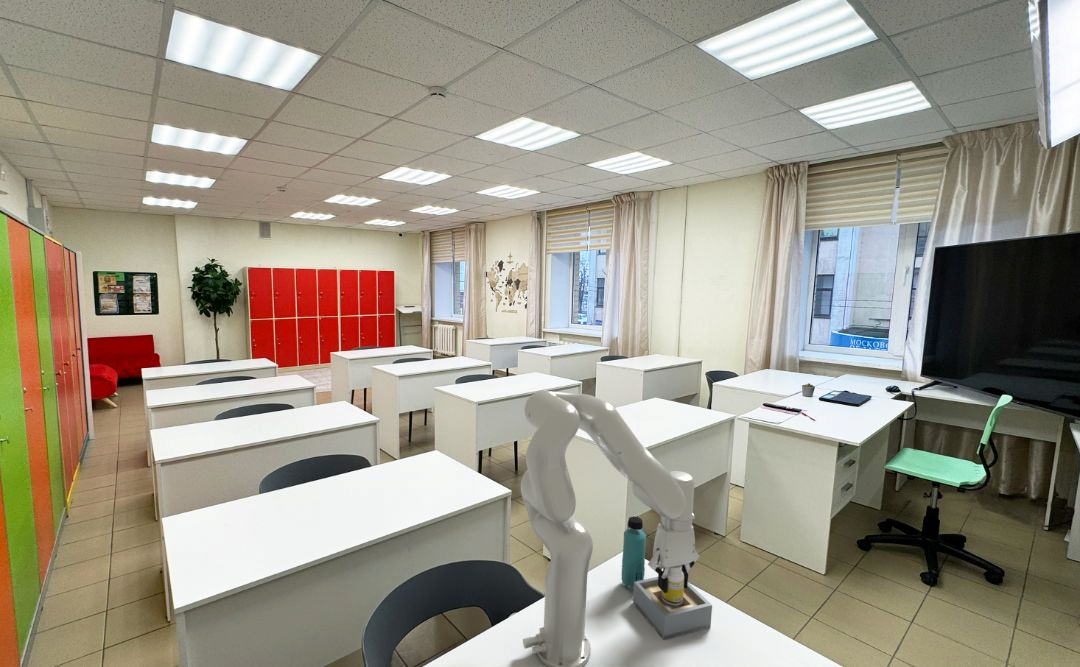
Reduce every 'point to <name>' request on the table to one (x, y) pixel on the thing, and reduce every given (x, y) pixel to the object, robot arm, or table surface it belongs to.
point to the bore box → (672, 609)
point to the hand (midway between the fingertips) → (672, 586)
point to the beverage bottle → (633, 552)
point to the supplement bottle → (674, 586)
